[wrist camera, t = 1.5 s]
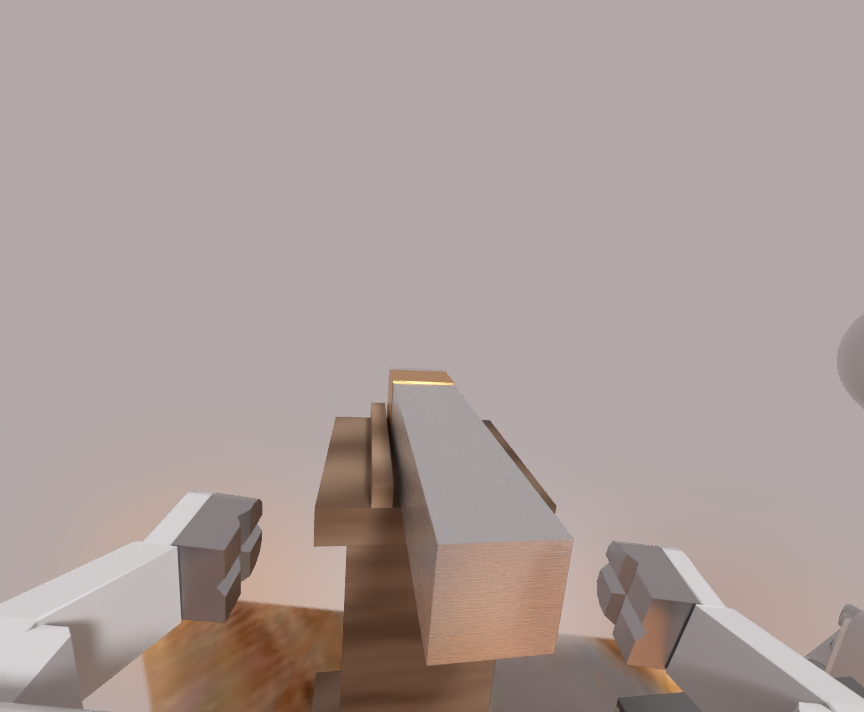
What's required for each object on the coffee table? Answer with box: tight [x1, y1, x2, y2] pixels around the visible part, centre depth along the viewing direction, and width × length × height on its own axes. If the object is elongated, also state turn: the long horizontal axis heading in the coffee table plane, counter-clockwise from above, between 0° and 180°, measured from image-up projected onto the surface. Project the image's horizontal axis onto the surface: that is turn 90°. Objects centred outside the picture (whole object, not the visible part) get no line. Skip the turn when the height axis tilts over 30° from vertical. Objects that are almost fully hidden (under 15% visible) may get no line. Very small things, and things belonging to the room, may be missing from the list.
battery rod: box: [386, 368, 574, 666], centre depth 22 cm, size 21×4×4 cm, turn 9°
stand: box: [311, 403, 556, 712], centre depth 28 cm, size 14×14×27 cm
